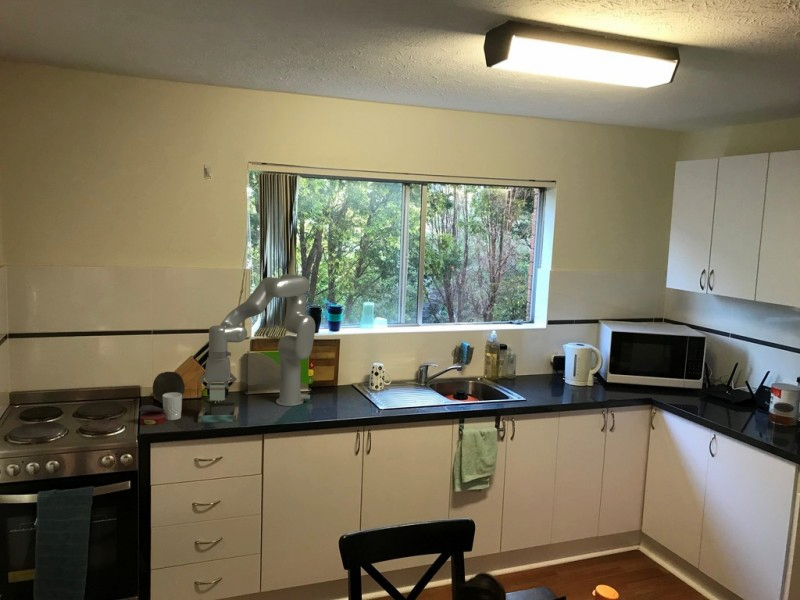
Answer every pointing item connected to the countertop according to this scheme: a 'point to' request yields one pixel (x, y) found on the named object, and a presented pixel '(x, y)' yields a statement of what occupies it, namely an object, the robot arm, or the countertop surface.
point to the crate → (217, 391)
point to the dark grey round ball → (167, 384)
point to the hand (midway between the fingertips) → (217, 396)
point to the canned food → (152, 415)
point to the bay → (217, 417)
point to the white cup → (172, 405)
